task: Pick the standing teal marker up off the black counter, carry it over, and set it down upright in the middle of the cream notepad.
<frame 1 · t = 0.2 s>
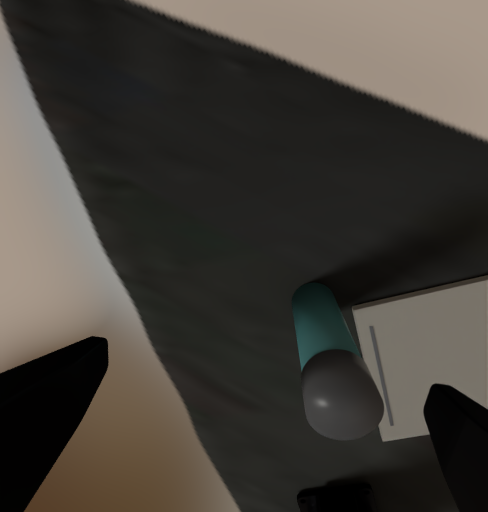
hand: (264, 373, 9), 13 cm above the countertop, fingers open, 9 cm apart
notepad: (443, 360, 24), on the countertop
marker: (313, 302, 23), on the countertop
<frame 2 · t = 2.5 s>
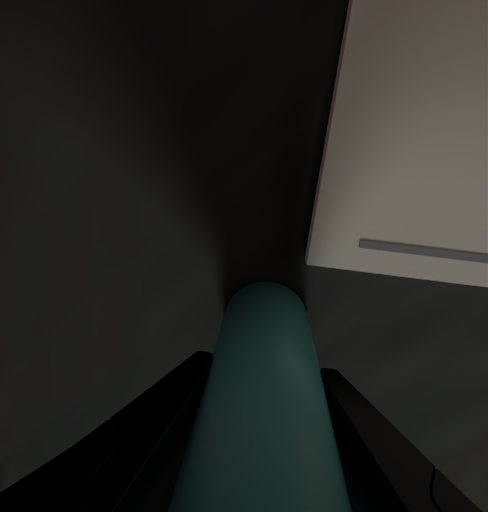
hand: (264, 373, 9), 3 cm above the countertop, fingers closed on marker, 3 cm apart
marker: (265, 319, 12), on the countertop, touching gripper
when the fingers open (5 cm above the countertop, at t = 7.8 s): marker drops 1 cm, resting on notepad.
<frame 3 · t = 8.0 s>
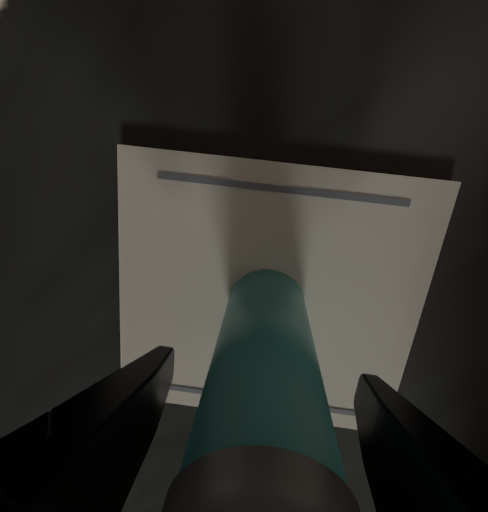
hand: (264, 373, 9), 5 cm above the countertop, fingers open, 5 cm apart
notepad: (265, 298, 13), on the countertop
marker: (266, 304, 13), point 1 cm above the countertop, touching notepad
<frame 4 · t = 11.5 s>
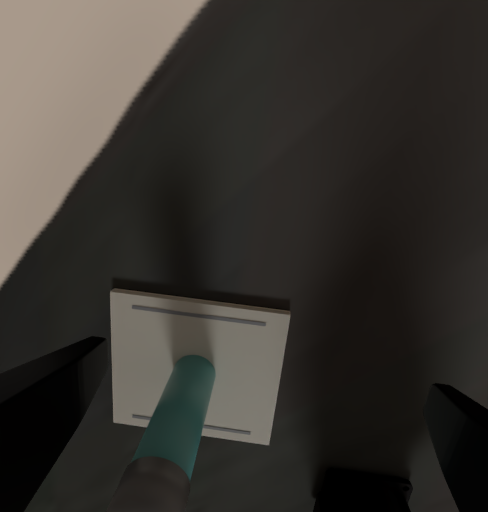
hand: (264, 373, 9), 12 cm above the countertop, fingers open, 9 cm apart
notepad: (196, 367, 23), on the countertop
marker: (194, 373, 23), point 1 cm above the countertop, touching notepad
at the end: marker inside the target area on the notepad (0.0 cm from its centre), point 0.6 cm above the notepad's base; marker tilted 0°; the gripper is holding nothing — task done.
